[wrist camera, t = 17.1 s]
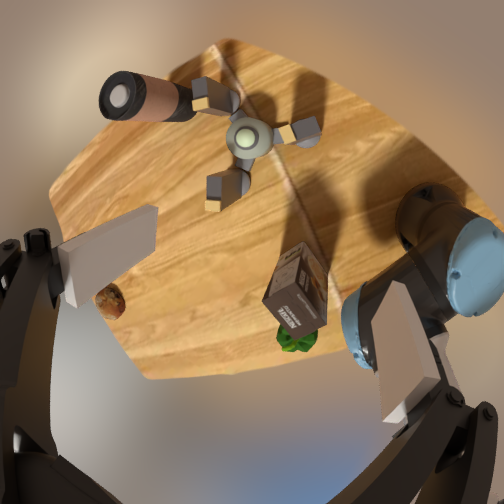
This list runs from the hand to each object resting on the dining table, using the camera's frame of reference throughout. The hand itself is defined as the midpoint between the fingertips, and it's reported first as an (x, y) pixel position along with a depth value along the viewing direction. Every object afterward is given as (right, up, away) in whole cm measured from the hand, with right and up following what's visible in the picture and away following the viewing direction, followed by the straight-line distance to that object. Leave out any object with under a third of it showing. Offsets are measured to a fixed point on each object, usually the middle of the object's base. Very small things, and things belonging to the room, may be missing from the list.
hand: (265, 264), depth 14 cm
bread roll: (-42, -14, +60) cm, 74 cm away
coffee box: (+10, -2, +40) cm, 41 cm away
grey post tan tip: (-5, +28, +31) cm, 42 cm away
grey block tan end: (-3, +14, +36) cm, 39 cm away
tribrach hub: (0, +21, +32) cm, 39 cm away
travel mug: (-14, +30, +33) cm, 47 cm away
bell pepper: (+10, -14, +44) cm, 47 cm away
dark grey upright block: (+9, +21, +29) cm, 37 cm away
